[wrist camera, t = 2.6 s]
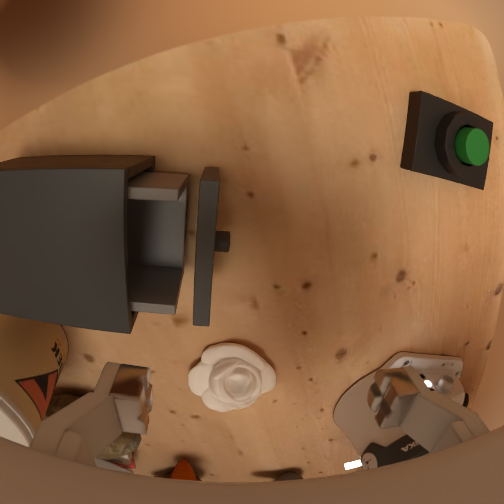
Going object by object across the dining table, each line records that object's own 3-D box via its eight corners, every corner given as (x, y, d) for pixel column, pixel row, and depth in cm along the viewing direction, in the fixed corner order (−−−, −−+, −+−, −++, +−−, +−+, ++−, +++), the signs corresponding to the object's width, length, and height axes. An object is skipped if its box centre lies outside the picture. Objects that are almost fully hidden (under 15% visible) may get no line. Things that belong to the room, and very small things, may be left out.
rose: (194, 427, 33) (179, 368, 29) (194, 401, 37) (182, 342, 33) (279, 421, 34) (281, 361, 30) (273, 395, 38) (274, 335, 34)
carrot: (190, 468, 43) (190, 545, 29) (163, 459, 42) (158, 539, 28) (205, 456, 42) (208, 539, 28) (176, 447, 41) (173, 532, 27)
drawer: (233, 168, 27) (239, 182, 19) (223, 280, 30) (225, 327, 23) (71, 162, 25) (27, 176, 17) (76, 269, 28) (42, 309, 21)
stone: (18, 447, 27) (7, 399, 27) (42, 416, 36) (36, 372, 35) (136, 482, 30) (135, 437, 29) (145, 443, 38) (146, 399, 38)
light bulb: (257, 478, 41) (308, 468, 45) (242, 479, 44) (291, 471, 49) (263, 508, 37) (314, 495, 42) (247, 507, 41) (296, 497, 45)
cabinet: (155, 155, 26) (125, 168, 17) (152, 277, 30) (130, 334, 21) (19, 157, 24) (-42, 173, 15) (28, 265, 28) (-19, 309, 19)
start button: (480, 132, 24) (491, 134, 23) (475, 166, 26) (486, 169, 24) (456, 122, 24) (468, 123, 22) (452, 158, 25) (463, 161, 24)
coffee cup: (70, 383, 35) (35, 473, 21) (-1, 345, 32) (-52, 420, 18) (83, 320, 31) (31, 420, 17) (2, 276, 28) (-73, 350, 14)
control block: (480, 121, 28) (504, 123, 24) (471, 186, 30) (494, 194, 27) (409, 91, 26) (432, 89, 22) (400, 167, 29) (422, 173, 25)
